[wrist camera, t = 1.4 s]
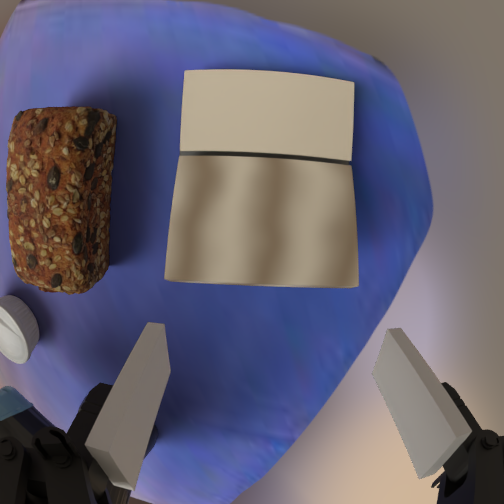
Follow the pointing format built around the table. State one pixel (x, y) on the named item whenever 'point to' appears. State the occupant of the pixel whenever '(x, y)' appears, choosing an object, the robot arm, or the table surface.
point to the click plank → (263, 223)
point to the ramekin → (17, 329)
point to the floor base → (267, 115)
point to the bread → (60, 196)
